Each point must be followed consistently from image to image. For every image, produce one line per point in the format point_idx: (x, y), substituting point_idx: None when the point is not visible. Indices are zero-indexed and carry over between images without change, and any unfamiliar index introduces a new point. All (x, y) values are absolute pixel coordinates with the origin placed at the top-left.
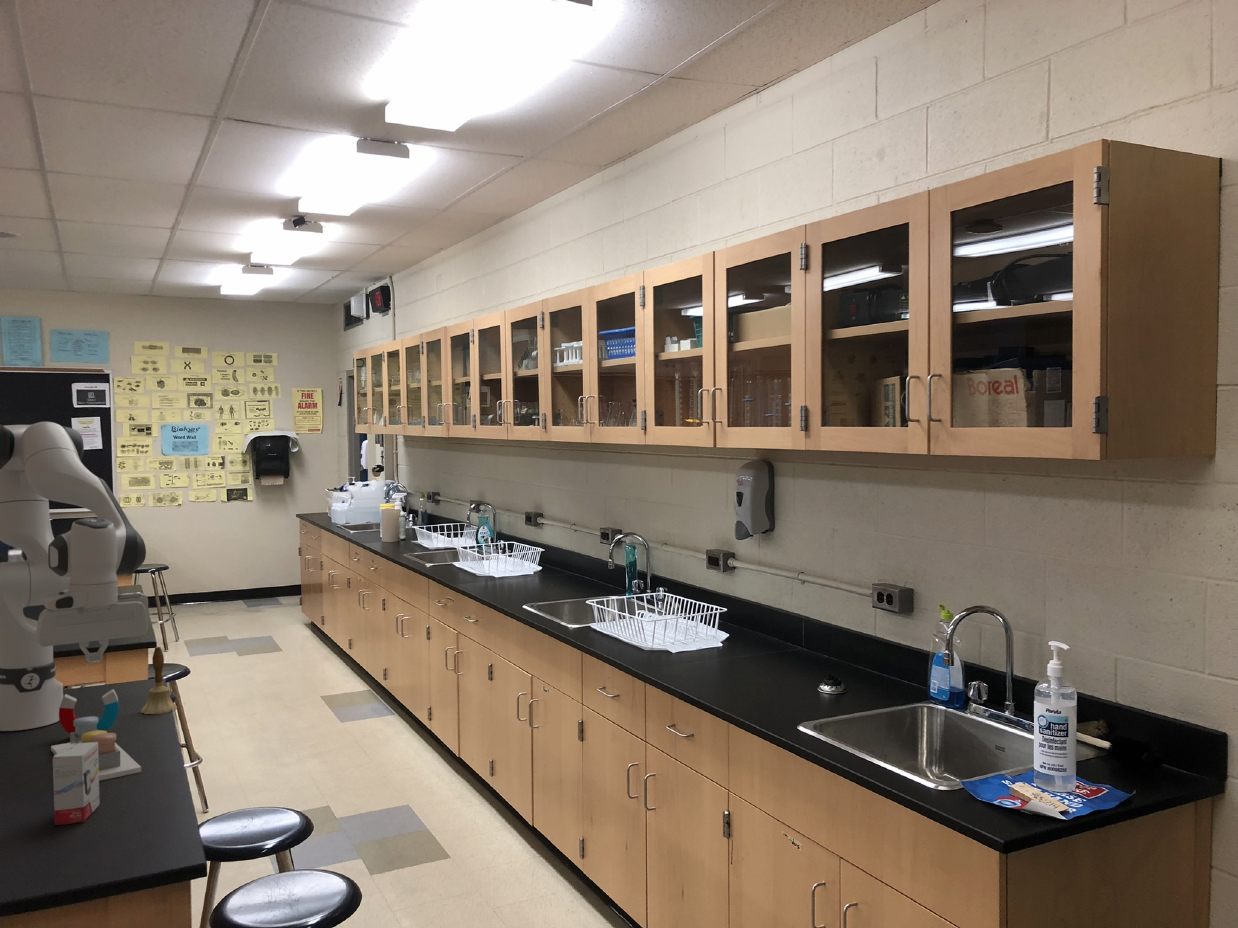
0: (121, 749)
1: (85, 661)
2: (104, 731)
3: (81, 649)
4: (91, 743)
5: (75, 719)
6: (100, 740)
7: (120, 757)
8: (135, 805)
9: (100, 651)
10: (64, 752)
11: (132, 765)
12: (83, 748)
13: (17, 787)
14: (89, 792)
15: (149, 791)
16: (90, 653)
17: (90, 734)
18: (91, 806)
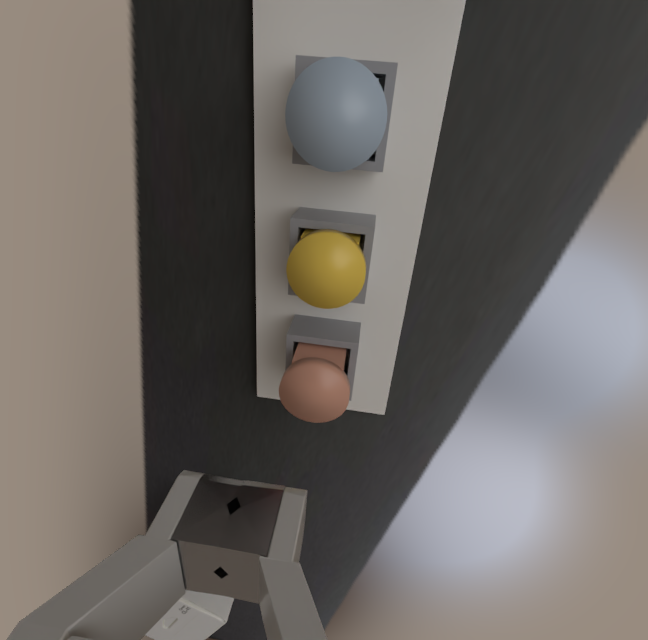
0: (415, 241)
1: (183, 477)
2: (359, 271)
3: (79, 580)
4: (213, 622)
5: (299, 76)
6: (298, 415)
7: (380, 313)
8: (309, 529)
9: (266, 628)
10: (161, 628)
11: (375, 392)
12: (195, 632)
13: (152, 311)
14: None
15: (349, 500)
16: (192, 558)
17: (312, 272)
18: None
